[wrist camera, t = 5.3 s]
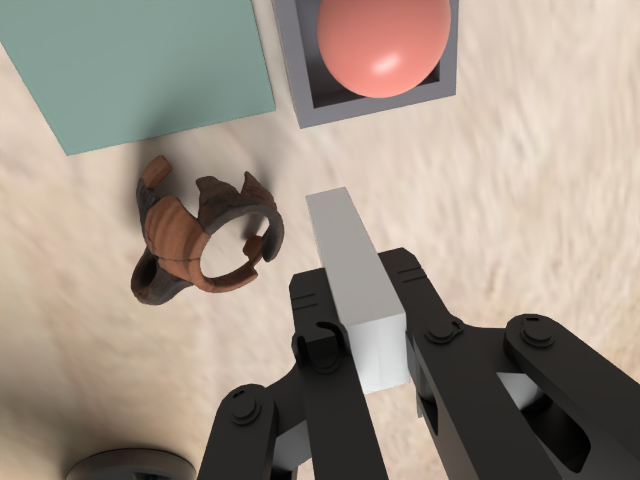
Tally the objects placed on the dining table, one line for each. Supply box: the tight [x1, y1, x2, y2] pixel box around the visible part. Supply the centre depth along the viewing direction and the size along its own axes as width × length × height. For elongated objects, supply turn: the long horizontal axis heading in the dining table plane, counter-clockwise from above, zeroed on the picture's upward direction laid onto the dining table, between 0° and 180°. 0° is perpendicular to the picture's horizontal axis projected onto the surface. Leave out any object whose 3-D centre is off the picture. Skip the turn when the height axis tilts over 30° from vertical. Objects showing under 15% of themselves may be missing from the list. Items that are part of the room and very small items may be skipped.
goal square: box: [0, 0, 276, 156], centre depth 22 cm, size 14×15×1 cm
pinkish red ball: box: [317, 0, 451, 98], centre depth 20 cm, size 6×6×6 cm
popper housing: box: [272, 0, 459, 129], centre depth 23 cm, size 10×10×4 cm
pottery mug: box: [131, 155, 284, 305], centre depth 29 cm, size 12×10×8 cm
